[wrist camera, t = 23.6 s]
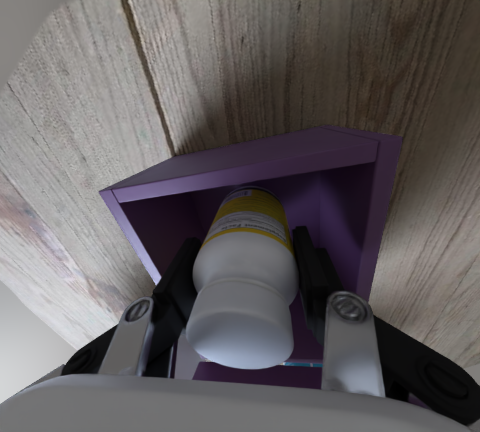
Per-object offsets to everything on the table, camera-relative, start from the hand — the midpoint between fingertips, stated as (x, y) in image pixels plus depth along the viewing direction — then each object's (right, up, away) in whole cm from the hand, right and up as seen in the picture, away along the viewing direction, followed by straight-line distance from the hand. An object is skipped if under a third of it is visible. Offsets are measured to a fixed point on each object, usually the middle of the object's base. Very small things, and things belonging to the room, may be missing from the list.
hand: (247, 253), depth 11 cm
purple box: (+2, +1, +9) cm, 9 cm away
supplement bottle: (+1, +2, +4) cm, 5 cm away
